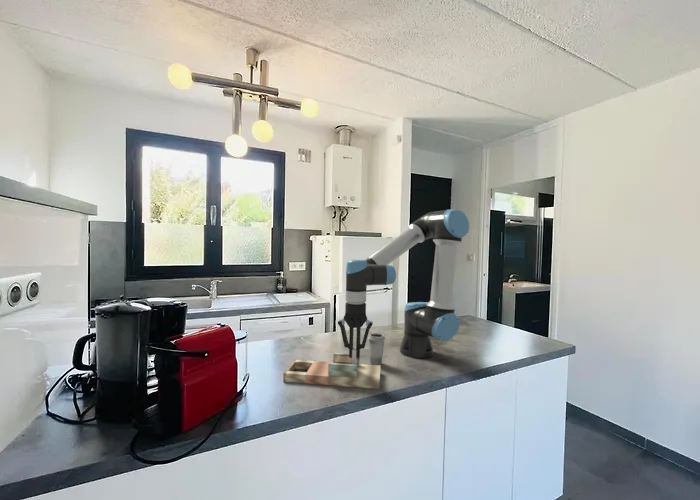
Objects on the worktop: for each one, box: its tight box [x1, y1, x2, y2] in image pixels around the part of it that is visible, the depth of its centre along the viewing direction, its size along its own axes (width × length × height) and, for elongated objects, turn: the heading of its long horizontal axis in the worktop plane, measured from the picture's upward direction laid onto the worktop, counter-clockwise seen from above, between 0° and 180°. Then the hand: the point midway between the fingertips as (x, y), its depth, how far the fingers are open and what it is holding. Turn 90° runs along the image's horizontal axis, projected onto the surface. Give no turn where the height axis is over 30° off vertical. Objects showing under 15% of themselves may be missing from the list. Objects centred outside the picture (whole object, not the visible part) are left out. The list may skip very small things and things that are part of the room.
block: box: [335, 356, 352, 364], centre depth 114 cm, size 6×6×4 cm
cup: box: [367, 332, 386, 366], centre depth 128 cm, size 7×7×12 cm
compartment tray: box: [282, 352, 381, 390], centre depth 114 cm, size 34×13×7 cm, turn 83°
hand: (354, 366), depth 113 cm, fingers closed
